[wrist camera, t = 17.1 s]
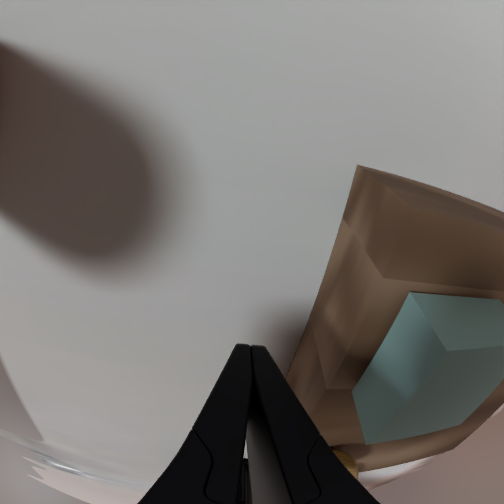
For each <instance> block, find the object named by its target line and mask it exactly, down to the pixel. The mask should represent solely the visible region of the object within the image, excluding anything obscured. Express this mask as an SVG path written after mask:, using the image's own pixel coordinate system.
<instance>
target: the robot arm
mask: <svg viewBox="0 0 504 504" xmlns="http://www.w3.org/2000/svg"><path fill="white" fill-rule="evenodd" d="M245 440H246V443H247V453H248V461H244V460H243V455H244V448H245ZM137 504H380V503H379V502H378V501H377V500H376V499H375V498H374V497H373V496H372V495H371V494H369V492H368V491H367V490H366V489H365V488H364V487H363V486H362V485H361V484H360V482H359V481H358V480H357V479H356V478H355V477H354V476H353V475H352V474H351V473H350V472H349V470H348V469H347V468H346V467H345V466H344V465H343V463H342V462H341V461H340V460H339V459H338V457H337V456H336V455H335V453H334V452H333V451H332V449H331V448H330V446H329V445H328V444H327V442H326V441H325V439H324V438H323V436H322V435H320V432H319V430H318V429H317V427H316V426H315V424H314V423H313V421H312V420H311V418H310V417H309V415H308V413H307V412H306V410H305V409H304V407H303V406H302V404H301V403H300V401H299V400H298V398H297V397H296V395H295V393H294V392H293V390H292V389H291V387H290V386H289V384H288V382H287V381H286V379H285V378H284V376H283V375H282V373H281V371H280V370H279V368H278V367H277V365H276V363H275V362H274V360H273V359H272V357H271V355H270V354H269V352H268V351H267V349H266V347H264V346H260V345H251V346H250V345H248V344H239V343H238V344H236V345H235V347H234V349H233V351H232V353H231V355H230V357H229V359H228V361H227V363H226V365H225V367H224V368H223V370H222V372H221V374H220V376H219V378H218V380H217V382H216V384H215V386H214V388H213V390H212V391H211V393H210V395H209V397H208V399H207V401H206V403H205V405H204V407H203V408H202V410H201V412H200V414H199V416H198V418H197V420H196V422H195V423H194V425H193V427H192V430H190V432H189V434H188V436H187V438H186V440H185V441H184V443H183V445H182V446H181V448H180V450H179V451H178V453H177V455H176V456H175V457H174V459H173V460H172V462H171V463H170V464H169V466H168V467H167V468H166V470H165V471H164V472H163V474H162V475H161V476H160V477H159V478H158V480H157V481H156V482H155V483H154V485H153V486H152V487H151V488H150V489H149V491H148V492H147V493H146V494H145V496H144V497H143V498H142V499H141V500H140V501H139V502H138V503H137Z"/></svg>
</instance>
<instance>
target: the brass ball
mask: <svg viewBox="0 0 504 504" xmlns="http://www.w3.org/2000/svg"><path fill="white" fill-rule="evenodd" d="M332 451H333V452H334V453H335V455H336V456H337V457H338V459H339V460H340V461H341V462H342V463H343V465H344V466H345V467H346V468H347V469H348V470H349V472H350V473H351V474H352V475H353V476H354V477H355V478H356V479H357V478H358V466H357V463H356V461H355V460H354V458H353V457H352V456H351V455H350V454H348V453H346V452H344V451H342V450H337V449H332Z"/></svg>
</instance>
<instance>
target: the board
mask: <svg viewBox="0 0 504 504" xmlns="http://www.w3.org/2000/svg"><path fill="white" fill-rule="evenodd" d="M409 292H413V293H424V294H436V295H448V296H460V297H473V298H486V299H500V301H501V302H502V303H503V304H504V212H501V211H499V210H496V209H494V208H491V207H489V206H486V205H484V204H481V203H479V202H476V201H473V200H471V199H468V198H465V197H462V196H460V195H457V194H454V193H451V192H448V191H445V190H442V189H439V188H436V187H433V186H430V185H427V184H424V183H421V182H417V181H414V180H411V179H408V178H404V177H401V176H397V175H394V174H390V173H387V172H383V171H379V170H376V169H372V168H368V167H364V166H360V165H357V168H356V172H355V175H354V179H353V183H352V186H351V190H350V194H349V197H348V201H347V204H346V208H345V211H344V215H343V218H342V221H341V225H340V228H339V231H338V234H337V238H336V241H335V244H334V247H333V250H332V253H331V257H330V260H329V263H328V266H327V269H326V272H325V275H324V278H323V281H322V284H321V286H320V289H319V292H318V295H317V298H316V301H315V304H314V306H313V309H312V312H311V315H310V317H309V320H308V323H307V325H306V328H305V331H304V333H303V336H302V339H301V341H300V344H299V346H298V349H297V352H296V354H295V357H294V359H293V362H292V364H291V367H290V369H289V372H288V374H287V376H286V381H287V382H288V384H289V386H290V387H291V389H292V390H293V392H294V393H295V395H296V397H297V398H298V400H299V401H300V403H301V404H302V406H303V407H304V409H305V410H306V412H307V413H308V415H309V417H310V418H311V420H312V421H313V423H314V424H315V426H316V427H317V429H318V430H319V432H320V435H322V436H323V438H324V439H325V441H326V442H327V444H328V445H329V446H330V448H331V449H337V450H342V451H344V452H346V453H348V454H350V455H351V456H352V457H353V458H354V460H355V461H356V463H357V466H358V472H364V471H370V470H375V469H381V468H385V467H390V466H395V465H399V464H403V463H408V462H411V461H415V460H419V459H423V458H426V457H430V456H433V455H436V454H440V453H443V452H446V451H449V450H452V449H454V448H455V447H456V446H458V445H459V444H460V443H461V442H462V441H463V440H465V439H466V438H467V437H468V436H469V435H470V434H472V433H473V432H474V431H475V430H476V429H477V428H478V427H479V426H481V425H482V424H483V423H484V422H485V421H486V420H487V419H488V418H489V417H490V416H491V415H492V414H493V413H494V412H495V411H496V410H497V409H498V408H499V407H500V406H501V405H502V404H503V403H504V379H503V380H502V381H501V383H500V384H499V385H498V386H497V387H496V388H495V390H494V391H493V392H492V393H491V394H490V395H489V396H488V397H487V398H486V399H485V400H484V401H483V403H482V404H481V405H480V406H479V407H478V408H477V409H476V410H475V411H474V412H473V413H472V414H471V415H470V416H469V417H468V418H467V419H466V420H465V421H464V422H462V423H461V424H460V425H457V426H454V427H450V428H447V429H443V430H439V431H435V432H431V433H427V434H423V435H418V436H414V437H409V438H404V439H399V440H393V441H387V442H381V443H375V444H368V445H366V443H365V439H364V435H363V432H362V428H361V424H360V420H359V417H358V413H357V409H356V406H355V402H354V399H353V395H352V390H353V389H354V387H355V386H356V384H357V383H358V381H359V380H360V378H361V377H362V375H363V374H364V372H365V371H366V369H367V367H368V366H369V364H370V363H371V361H372V359H373V358H374V356H375V354H376V353H377V351H378V349H379V348H380V346H381V344H382V343H383V341H384V339H385V337H386V336H387V334H388V332H389V330H390V328H391V327H392V325H393V323H394V321H395V319H396V317H397V316H398V314H399V312H400V310H401V308H402V306H403V304H404V302H405V300H406V298H407V296H408V294H409Z"/></svg>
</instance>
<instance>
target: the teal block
mask: <svg viewBox="0 0 504 504" xmlns="http://www.w3.org/2000/svg"><path fill="white" fill-rule="evenodd" d="M503 379H504V304H503V303H502V302H501V301H500V299H486V298H473V297H460V296H448V295H436V294H424V293H413V292H409V294H408V296H407V298H406V300H405V302H404V304H403V306H402V308H401V310H400V312H399V314H398V316H397V317H396V319H395V321H394V323H393V325H392V327H391V328H390V330H389V332H388V334H387V336H386V337H385V339H384V341H383V343H382V344H381V346H380V348H379V349H378V351H377V353H376V354H375V356H374V358H373V359H372V361H371V363H370V364H369V366H368V367H367V369H366V371H365V372H364V374H363V375H362V377H361V378H360V380H359V381H358V383H357V384H356V386H355V387H354V389H353V390H352V395H353V399H354V402H355V406H356V409H357V413H358V417H359V420H360V424H361V428H362V432H363V435H364V439H365V443H366V445H368V444H375V443H381V442H387V441H393V440H399V439H404V438H409V437H414V436H418V435H423V434H427V433H431V432H435V431H439V430H443V429H447V428H450V427H454V426H457V425H460V424H461V423H462V422H464V421H465V420H466V419H467V418H468V417H469V416H470V415H471V414H472V413H473V412H474V411H475V410H476V409H477V408H478V407H479V406H480V405H481V404H482V403H483V401H484V400H485V399H486V398H487V397H488V396H489V395H490V394H491V393H492V392H493V391H494V390H495V388H496V387H497V386H498V385H499V384H500V383H501V381H502V380H503Z"/></svg>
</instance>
